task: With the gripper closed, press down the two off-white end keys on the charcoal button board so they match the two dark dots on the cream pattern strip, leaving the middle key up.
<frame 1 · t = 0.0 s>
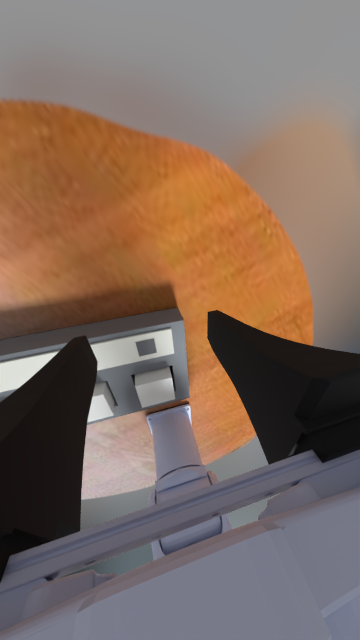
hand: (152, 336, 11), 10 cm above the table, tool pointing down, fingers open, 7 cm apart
key middle: (91, 399, 22), point 3 cm above the table, slide at 0.0 cm
button board: (90, 370, 24), on the table
key 1: (155, 383, 24), point 3 cm above the table, slide at 0.0 cm
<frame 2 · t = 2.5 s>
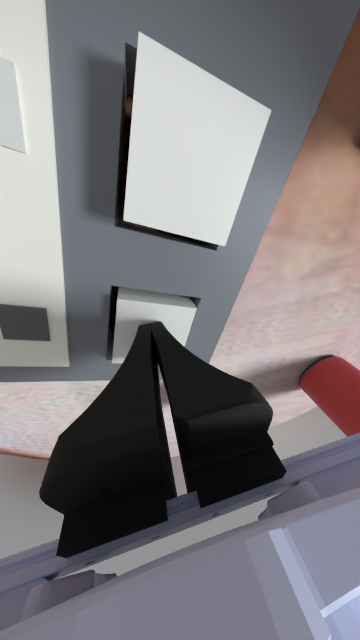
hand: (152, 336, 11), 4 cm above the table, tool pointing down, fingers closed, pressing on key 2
key 2: (150, 323, 12), point 2 cm above the table, slide at 0.8 cm, touching gripper
beer can: (317, 370, 25), on the table
key middle: (183, 174, 8), point 3 cm above the table, slide at 0.0 cm
button board: (133, 170, 9), on the table
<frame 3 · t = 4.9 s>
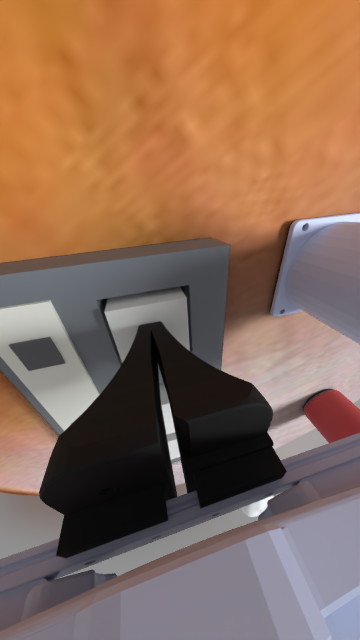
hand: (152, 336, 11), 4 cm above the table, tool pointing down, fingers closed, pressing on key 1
milkshake: (229, 431, 29), on the table
key 2: (172, 435, 21), point 2 cm above the table, slide at 1.0 cm
beer can: (317, 399, 30), on the table
key middle: (166, 402, 16), point 3 cm above the table, slide at 0.0 cm
button board: (141, 381, 18), on the table
key 1: (150, 323, 12), point 2 cm above the table, slide at 0.7 cm, touching gripper
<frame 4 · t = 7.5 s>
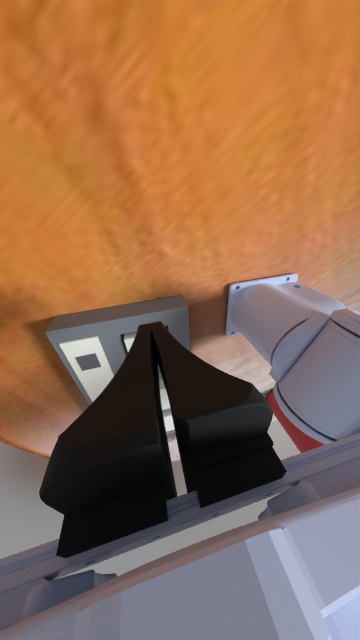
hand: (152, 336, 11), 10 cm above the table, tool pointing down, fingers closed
key 2: (164, 415, 30), point 2 cm above the table, slide at 1.0 cm
beer can: (277, 393, 40), on the table
key middle: (158, 391, 25), point 3 cm above the table, slide at 0.0 cm
button board: (142, 377, 27), on the table
key 1: (147, 342, 21), point 2 cm above the table, slide at 1.0 cm
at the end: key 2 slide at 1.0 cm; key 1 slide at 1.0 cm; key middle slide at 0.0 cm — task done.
